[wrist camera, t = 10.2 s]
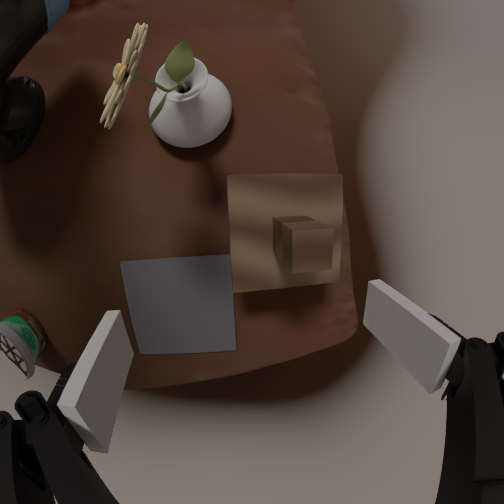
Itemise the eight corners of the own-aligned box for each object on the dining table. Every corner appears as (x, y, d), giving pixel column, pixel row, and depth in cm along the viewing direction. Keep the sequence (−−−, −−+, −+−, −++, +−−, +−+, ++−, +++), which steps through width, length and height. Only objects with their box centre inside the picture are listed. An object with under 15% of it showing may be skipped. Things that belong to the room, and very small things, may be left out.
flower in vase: (182, 63, 32) (159, -52, 8) (246, 100, 35) (301, 6, 11) (129, 134, 34) (28, 88, 10) (193, 173, 37) (164, 169, 13)
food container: (61, 341, 40) (39, 372, 31) (48, 353, 40) (27, 382, 31) (21, 291, 36) (-8, 314, 27) (10, 306, 37) (-17, 330, 27)
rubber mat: (120, 260, 38) (119, 261, 38) (230, 253, 40) (231, 254, 40) (140, 352, 43) (140, 354, 42) (236, 348, 45) (236, 349, 45)
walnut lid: (226, 175, 31) (232, 174, 22) (338, 174, 32) (379, 176, 24) (232, 289, 34) (240, 326, 26) (335, 278, 36) (368, 308, 28)
